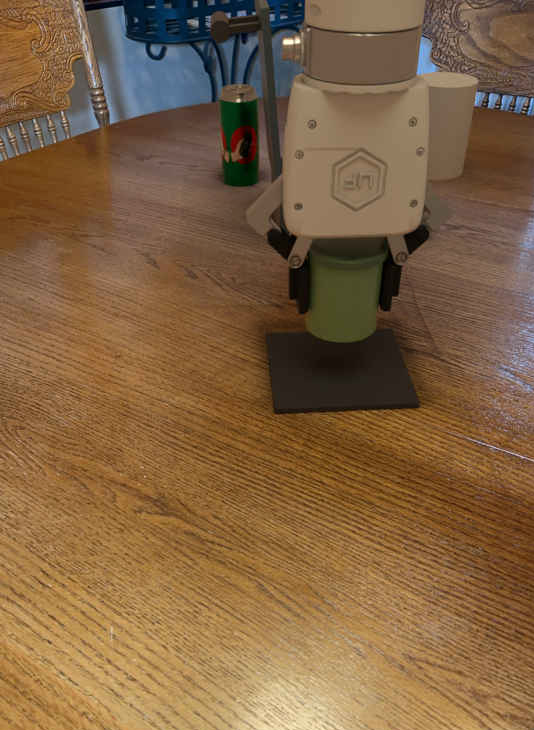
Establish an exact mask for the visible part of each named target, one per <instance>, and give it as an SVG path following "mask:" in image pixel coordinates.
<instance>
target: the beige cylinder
mask: <svg viewBox="0 0 534 730" xmlns="http://www.w3.org/2000/svg"><path fill="white" fill-rule="evenodd" d="M418 75H419V76H421V77H422V78H423V79H425V80H426V81H427V82H428V87H429V146H428V163H427V178H426V179H427V180H428V181H429V180H430V181H446V180H452V179H455V178H458V177H460V176H461V175H462V174H463V172H464V167H465V165H464V164H465V161H466V155H467V150H468V143H469V139H470V131H471V126H472V120H473V114H474V108H475V104H476V97H477V92H478V85H479V79H478V78H477V77H474V76H473V75H469V74H465V73H460V72H450V71H431V72H424V73H420V74H418Z"/></svg>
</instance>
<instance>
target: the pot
mask: <svg viewBox="0 0 534 730" xmlns="http://www.w3.org/2000/svg"><path fill="white" fill-rule="evenodd" d="M388 254H389V244H388V242H387V240H386V239H385V238H384V237H359V238H315V239H314V240H313V242H312V244H311V247H310V249H309V251H308V253H307V255H306V257H307V262H308V266H309V297H308V313H306V314H304V325H305V328H306V330H307V332H310V333H311V334H313V335H314V336H316V337H318V338H320V339H323V340H327V341H331V342H355V341H359V340H362V339H365V338H367V337H369V336H370V335H371V334H373V332H374V331H375V329H377V326H378V325H377V323H378V315H379V309H380V306H379V299H380V290H381V281H382V273H383V264H384V261H385V260H386V258H387V257H388Z"/></svg>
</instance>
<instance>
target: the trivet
mask: <svg viewBox="0 0 534 730" xmlns="http://www.w3.org/2000/svg"><path fill="white" fill-rule="evenodd" d="M265 338H266V341H265V342H266V348H267V349H266V350H267V358H268V367H269V375H270V383H271V391H272V400H273V402H272V403H273V409H274V414H275V415H276V414H297V413H298V414H299V413H301V414H302V413H322V412H323V413H324V412H343V411H347V412H348V411H369V410H370V411H371V410H373V411H374V410H393V409H416V408H417V409H418V408H420V406H421V402H420V399H419V397H418V396H419V395H417V391H416V389H415V386H414V384H413V381H412V378H411V376H410V373H409V370H408V367H407V365H406V362H405V360H404V357H403V354H402V352H401V349H400V346H399V344H398V341H397V339H396V336H395V333H394V331H393V328H376V329H375V331H374V332H373V334H371V335H370V336H369V337H367V338H365V339H362V340H359V341H355V342H331V341H327V340H323V339H320V338H318V337H316V336H314V335H313V334H311V333H310V332H309V331H291V332H290V331H288V332H266V333H265Z"/></svg>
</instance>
